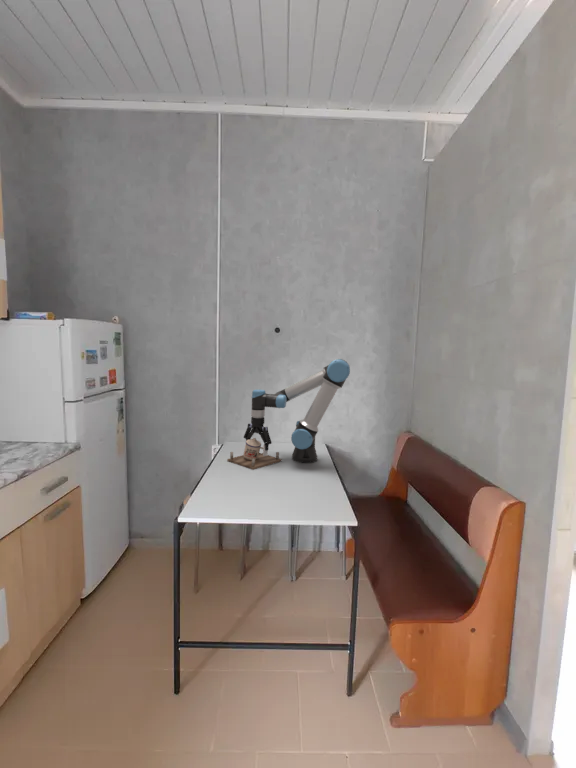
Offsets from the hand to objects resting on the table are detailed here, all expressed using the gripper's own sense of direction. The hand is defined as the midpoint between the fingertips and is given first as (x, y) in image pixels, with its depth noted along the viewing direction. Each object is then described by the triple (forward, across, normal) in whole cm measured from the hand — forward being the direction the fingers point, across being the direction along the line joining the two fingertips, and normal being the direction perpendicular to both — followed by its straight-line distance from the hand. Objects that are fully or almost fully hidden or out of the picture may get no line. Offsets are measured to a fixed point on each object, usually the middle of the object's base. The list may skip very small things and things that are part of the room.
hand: (256, 453), depth 223 cm
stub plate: (+5, +2, 0) cm, 5 cm away
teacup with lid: (+3, +3, 0) cm, 4 cm away
